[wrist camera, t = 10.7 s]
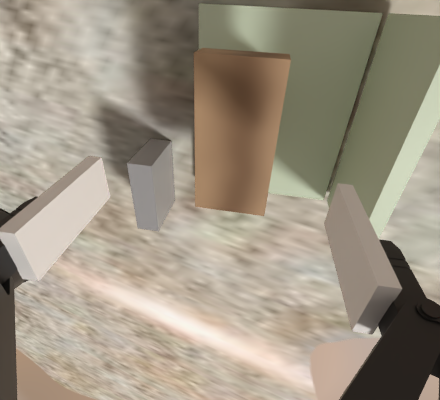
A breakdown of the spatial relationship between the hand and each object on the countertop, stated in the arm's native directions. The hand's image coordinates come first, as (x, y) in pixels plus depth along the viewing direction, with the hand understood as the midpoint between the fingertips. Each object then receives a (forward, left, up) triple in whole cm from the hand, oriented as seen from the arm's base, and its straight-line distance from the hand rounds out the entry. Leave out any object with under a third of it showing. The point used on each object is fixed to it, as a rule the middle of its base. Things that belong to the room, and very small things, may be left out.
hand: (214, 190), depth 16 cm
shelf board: (0, 0, -9) cm, 8 cm away
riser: (-9, -8, -15) cm, 19 cm away
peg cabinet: (+4, 0, -15) cm, 15 cm away
